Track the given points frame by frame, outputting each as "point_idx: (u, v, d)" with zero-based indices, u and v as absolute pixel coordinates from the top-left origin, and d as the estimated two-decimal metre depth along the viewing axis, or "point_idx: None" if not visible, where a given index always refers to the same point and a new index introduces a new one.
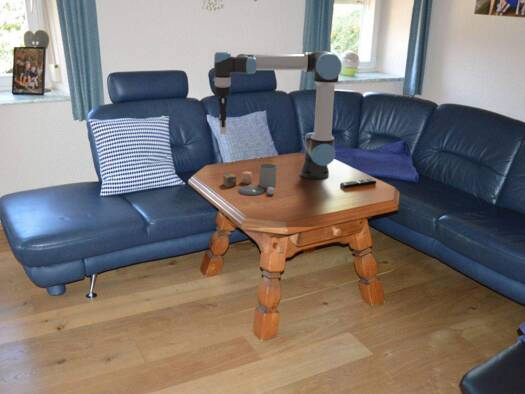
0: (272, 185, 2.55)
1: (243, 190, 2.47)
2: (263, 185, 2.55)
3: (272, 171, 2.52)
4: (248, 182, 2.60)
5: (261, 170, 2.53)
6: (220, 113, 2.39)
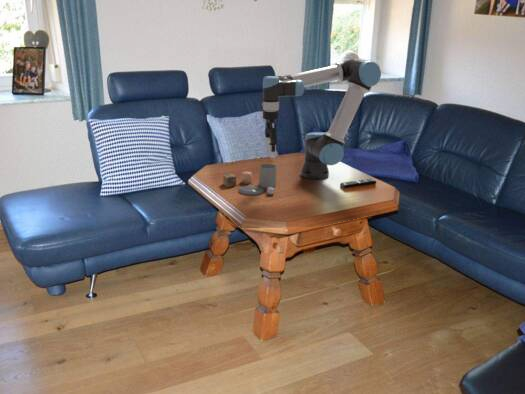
0: (272, 185, 2.55)
1: (243, 190, 2.47)
2: (263, 185, 2.55)
3: (272, 171, 2.52)
4: (248, 182, 2.60)
5: (261, 170, 2.53)
6: (270, 138, 2.38)
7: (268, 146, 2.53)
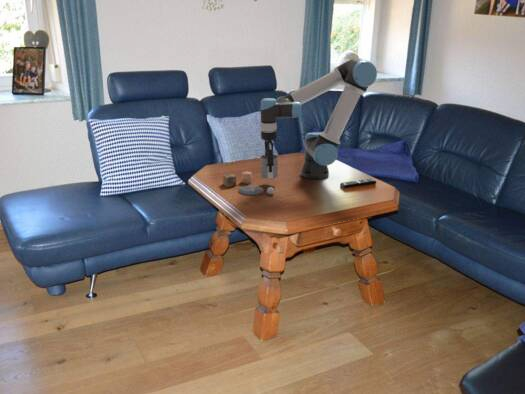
0: (274, 176, 2.53)
1: (243, 190, 2.47)
2: (265, 176, 2.53)
3: (273, 161, 2.51)
4: (248, 182, 2.60)
5: (262, 161, 2.51)
6: None
7: None
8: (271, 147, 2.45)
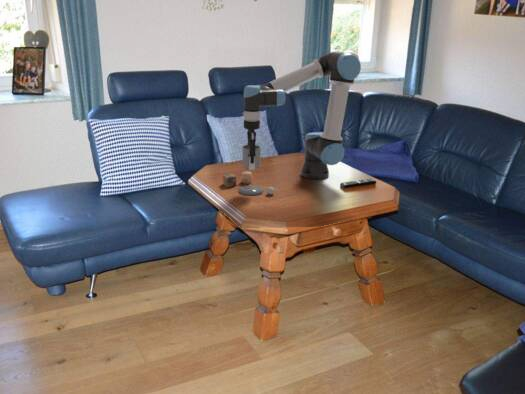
0: (256, 167, 2.41)
1: (243, 190, 2.47)
2: (246, 167, 2.41)
3: (256, 152, 2.39)
4: (248, 182, 2.60)
5: (244, 151, 2.39)
6: None
7: None
8: (253, 137, 2.33)
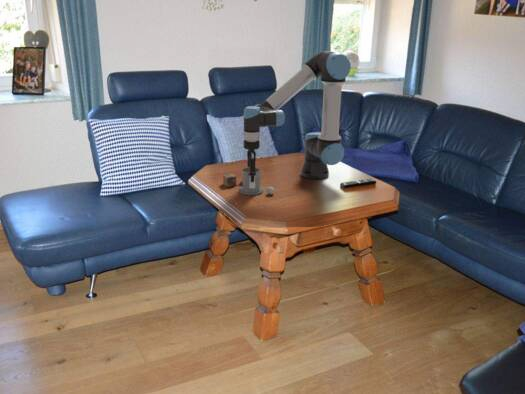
0: (256, 190, 2.45)
1: None
2: (247, 190, 2.45)
3: (255, 175, 2.43)
4: None
5: (244, 174, 2.43)
6: None
7: None
8: (253, 156, 2.36)
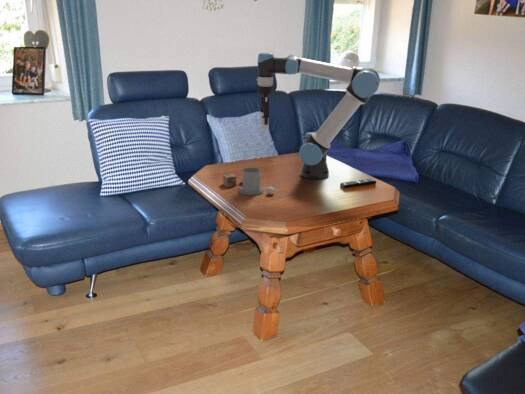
0: (256, 190, 2.45)
1: None
2: (247, 190, 2.45)
3: (256, 175, 2.43)
4: None
5: (244, 174, 2.43)
6: (263, 111, 2.50)
7: (263, 121, 2.65)
8: (267, 99, 2.48)
